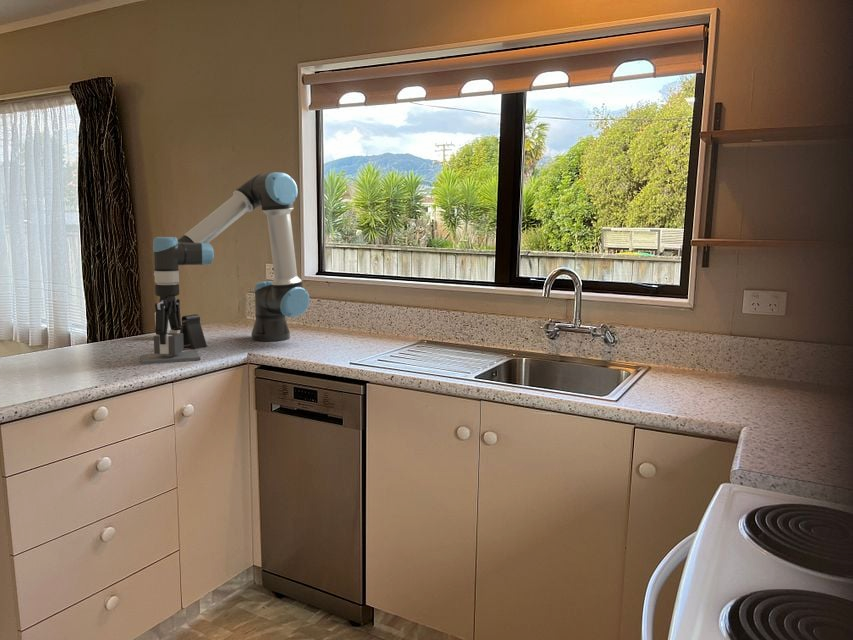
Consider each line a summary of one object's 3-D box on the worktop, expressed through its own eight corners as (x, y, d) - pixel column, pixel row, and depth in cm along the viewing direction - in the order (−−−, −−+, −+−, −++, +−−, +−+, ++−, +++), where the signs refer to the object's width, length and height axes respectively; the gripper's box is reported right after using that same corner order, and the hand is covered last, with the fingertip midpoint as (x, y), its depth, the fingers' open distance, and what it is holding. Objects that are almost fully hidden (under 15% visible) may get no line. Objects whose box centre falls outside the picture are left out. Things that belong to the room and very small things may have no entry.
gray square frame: (183, 350, 216) (183, 332, 215) (175, 354, 209) (174, 335, 208) (163, 349, 216) (163, 331, 215) (154, 353, 209) (153, 335, 208)
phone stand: (207, 347, 234) (205, 315, 233) (194, 349, 229) (193, 317, 227) (189, 344, 238) (188, 313, 237) (176, 347, 233) (175, 315, 231)
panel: (196, 353, 222) (195, 331, 221) (200, 360, 212) (199, 336, 210) (140, 357, 214) (139, 334, 213) (141, 364, 204) (140, 340, 202)
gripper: (169, 280, 219) (171, 345, 222) (141, 286, 199) (144, 357, 203) (190, 281, 219) (192, 346, 222) (164, 286, 199) (167, 357, 203)
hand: (169, 351), depth 213 cm, fingers closed on gray square frame, 7 cm apart
